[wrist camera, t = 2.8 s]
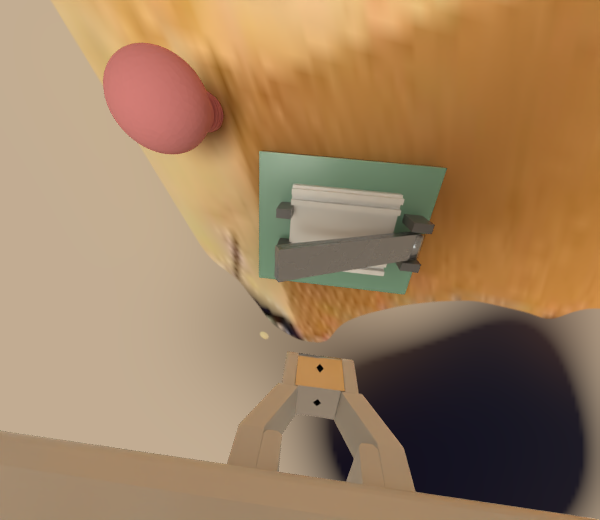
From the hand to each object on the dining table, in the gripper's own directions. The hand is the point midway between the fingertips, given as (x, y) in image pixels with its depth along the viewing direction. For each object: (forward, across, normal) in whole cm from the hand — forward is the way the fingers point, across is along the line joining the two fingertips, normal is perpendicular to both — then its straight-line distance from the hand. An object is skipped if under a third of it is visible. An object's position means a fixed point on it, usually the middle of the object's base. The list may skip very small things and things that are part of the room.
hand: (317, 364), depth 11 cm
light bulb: (+22, +14, -11) cm, 28 cm away
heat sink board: (+22, -2, 0) cm, 22 cm away
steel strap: (+14, -3, 0) cm, 15 cm away
